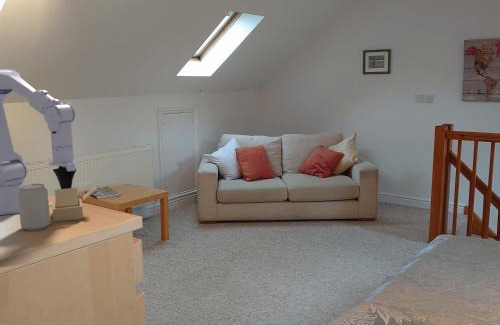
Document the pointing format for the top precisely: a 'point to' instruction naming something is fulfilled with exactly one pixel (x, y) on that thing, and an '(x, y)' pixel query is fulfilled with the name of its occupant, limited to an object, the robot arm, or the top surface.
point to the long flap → (66, 197)
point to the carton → (67, 212)
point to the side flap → (89, 193)
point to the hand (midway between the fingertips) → (66, 192)
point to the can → (33, 207)
